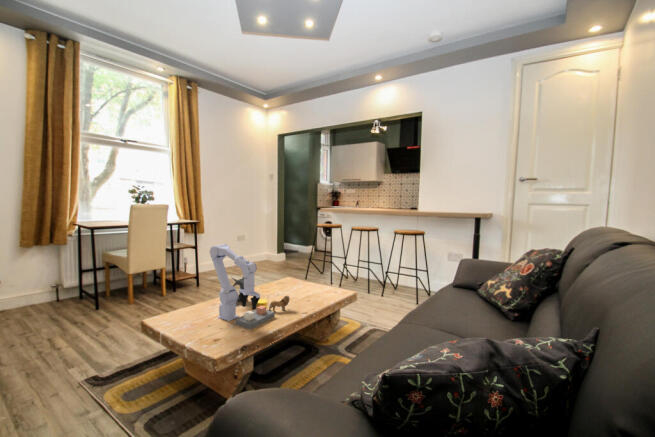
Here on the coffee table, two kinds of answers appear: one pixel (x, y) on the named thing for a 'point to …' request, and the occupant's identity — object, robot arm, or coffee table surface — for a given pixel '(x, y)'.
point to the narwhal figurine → (241, 284)
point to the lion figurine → (280, 304)
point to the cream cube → (249, 316)
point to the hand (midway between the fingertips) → (249, 307)
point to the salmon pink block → (261, 310)
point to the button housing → (254, 320)
